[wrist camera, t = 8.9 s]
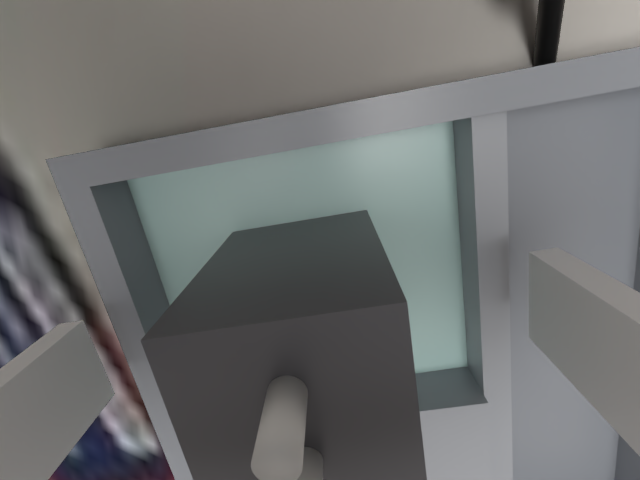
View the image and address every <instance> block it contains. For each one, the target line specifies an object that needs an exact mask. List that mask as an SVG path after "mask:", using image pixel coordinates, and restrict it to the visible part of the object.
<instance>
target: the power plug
mask: <svg viewBox="0 0 640 480" xmlns="http://www.w3.org/2000/svg"><path fill="white" fill-rule="evenodd" d="M564 3H565V0H539V4H538V15H537V26H536V37H535V48H534V59H533V65H534V66H540V65H546V64H551V63H555V62H556V58H557V51H558V44H559V37H560V30H561V23H562V16H563V9H564Z"/></svg>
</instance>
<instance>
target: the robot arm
mask: <svg viewBox="0 0 640 480" xmlns="http://www.w3.org/2000/svg"><path fill="white" fill-rule="evenodd" d="M529 338H530V339H531V340H532V341H533V342H534V343H535V344H536V345H537V347H538V348H539V349H540V350H541V351H542V352H543V353H544V354H545V355H546V356H547V357H548V358H549V359H550V361H551V362H552V363H553V364H554V365H555V366H556V367H557V368H558V369H559V370H560V371H561V372H562V373H563V375H564V376H565V377H566V378H567V379H568V380H569V381H570V382H571V383H572V384H573V385H574V386H575V387H576V389H577V390H578V391H579V392H580V393H581V394H582V395H583V396H584V397H585V398H586V399H587V400H588V401H589V403H590V404H591V405H592V406H593V407H594V408H595V409H596V410H597V411H598V412H599V413H600V414H601V415H602V417H603V418H604V419H605V420H606V421H607V422H608V423H609V424H610V425H611V426H612V427H613V428H614V429H615V431H616V432H617V433H618V434H619V435H620V436H621V437H622V438H623V439H624V440H625V441H626V442H627V443H628V445H629V446H630V447H631V448H632V449H633V450H634V451H635V452H636V453H637V454H638V455H639V456H640V293H639V292H638V291H636V290H634V289H632V288H630V287H629V286H627V285H625V284H623V283H621V282H619V281H618V280H616V279H614V278H612V277H610V276H609V275H607V274H605V273H603V272H601V271H600V270H598V269H596V268H594V267H592V266H590V265H589V264H587V263H585V262H583V261H581V260H580V259H578V258H576V257H574V256H572V255H571V254H569V253H567V252H565V251H563V250H561V249H560V248H551V249H544V250H538V251H531V252H529ZM114 394H115V393H114V391H113V388H112V386H111V384H110V381H109V379H108V377H107V374H106V372H105V370H104V367H103V365H102V363H101V361H100V358H99V356H98V354H97V351H96V349H95V347H94V344H93V342H92V340H91V337H90V335H89V333H88V330H87V328H86V326H85V323H84V321H83V320H82V321H75V322H69V323H62V324H59V325H57V326H56V327H55V328H53V329H52V330H51V331H50V332H48V333H47V334H46V335H44V336H43V337H42V338H40V339H39V340H38V341H36V342H35V343H34V344H32V345H31V346H30V347H28V348H27V349H26V350H24V351H23V352H22V353H21V354H19V355H18V356H17V357H15V358H14V359H13V360H11V361H10V362H9V363H7V364H6V365H5V366H3V367H2V368H1V369H0V480H48V479H49V478H50V477H51V475H52V474H53V473H54V471H55V470H56V469H57V468H58V466H59V465H60V464H61V462H62V461H63V460H64V459H65V457H66V456H67V455H68V453H69V452H70V451H71V450H72V448H73V447H74V446H75V444H76V443H77V442H78V441H79V439H80V438H81V437H82V435H83V434H84V433H85V432H86V430H87V429H88V428H89V426H90V425H91V424H92V423H93V421H94V420H95V419H96V417H97V416H98V415H99V414H100V412H101V411H102V410H103V408H104V407H105V406H106V405H107V403H108V402H109V401H110V399H111V398H112V397H113V396H114Z"/></svg>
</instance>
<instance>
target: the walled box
mask: <svg viewBox="0 0 640 480" xmlns="http://www.w3.org/2000/svg"><path fill="white" fill-rule="evenodd" d="M46 162H47V164H48V167H49V169H50V172H51V174H52V177H53V179H54V182H55V184H56V187H57V189H58V191H59V194H60V196H61V199H62V201H63V204H64V206H65V209H66V211H67V214H68V216H69V219H70V221H71V224H72V226H73V229H74V231H75V233H76V236H77V238H78V241H79V243H80V246H81V248H82V251H83V253H84V256H85V258H86V261H87V263H88V266H89V268H90V271H91V273H92V275H93V278H94V280H95V283H96V285H97V288H98V290H99V293H100V295H101V298H102V300H103V303H104V305H105V308H106V310H107V313H108V315H109V317H110V320H111V322H112V325H113V327H114V330H115V332H116V335H117V337H118V340H119V342H120V345H121V347H122V350H123V352H124V355H125V357H126V359H127V362H128V364H129V367H130V369H131V372H132V374H133V377H134V379H135V382H136V384H137V387H138V389H139V392H140V394H141V397H142V399H143V401H144V404H145V406H146V409H147V411H148V414H149V416H150V419H151V421H152V424H153V426H154V429H155V431H156V434H157V436H158V439H159V441H160V443H161V446H162V448H163V451H164V453H165V456H166V458H167V461H168V463H169V466H170V468H171V471H172V473H173V476H174V478H175V480H193V478H192V475H191V473H190V470H189V467H188V465H187V462H186V459H185V457H184V454H183V452H182V449H181V446H180V444H179V441H178V438H177V436H176V433H175V430H174V428H173V425H172V423H171V420H170V417H169V415H168V412H167V409H166V407H165V404H164V402H163V399H162V396H161V394H160V391H159V388H158V386H157V383H156V381H155V378H154V375H153V373H152V370H151V367H150V365H149V362H148V359H147V357H146V354H145V352H144V349H143V346H142V344H141V341H140V340H141V339H142V338H143V337H144V336H145V334H146V333H147V332H148V331H149V330H150V329H151V327H152V326H153V325H154V324H155V323H156V322H157V320H158V319H159V318H160V317H161V316H162V314H163V313H164V312H165V311H166V310H167V309H168V307H169V306H170V305H171V304H172V303H173V302H174V300H175V299H176V298H177V297H178V296H179V295H180V293H181V292H182V291H183V290H184V289H185V287H186V286H187V285H188V284H189V283H190V282H191V280H192V279H193V278H194V277H195V276H196V275H197V273H198V272H199V271H200V270H201V269H202V267H203V266H204V265H205V264H206V263H207V262H208V260H209V259H210V258H211V257H212V256H213V255H214V253H215V252H216V251H217V250H218V249H219V247H220V246H221V245H222V244H223V243H224V242H225V240H226V239H227V238H228V237H229V236H230V235H231V233H232V232H234V231H241V230H247V229H253V228H259V227H265V226H271V225H277V224H283V223H289V222H295V221H301V220H308V219H314V218H320V217H326V216H332V215H338V214H344V213H350V212H356V211H362V210H367V211H368V214H369V216H370V218H371V221H372V223H373V225H374V227H375V230H376V232H377V234H378V237H379V239H380V241H381V243H382V246H383V248H384V250H385V252H386V255H387V257H388V259H389V262H390V264H391V266H392V268H393V271H394V273H395V275H396V278H397V280H398V282H399V284H400V287H401V289H402V291H403V293H404V296H405V298H406V300H407V304H408V313H409V322H410V331H411V340H412V349H413V358H414V367H415V376H416V385H417V394H418V403H419V412H420V421H421V430H422V439H423V448H424V457H425V466H426V475H427V480H640V456H639V455H638V454H637V453H636V452H635V451H634V450H633V449H632V448H631V447H630V446H629V445H628V443H627V442H626V441H625V440H624V439H623V438H622V437H621V436H620V435H619V434H618V433H617V432H616V431H615V429H614V428H613V427H612V426H611V425H610V424H609V423H608V422H607V421H606V420H605V419H604V418H603V417H602V415H601V414H600V413H599V412H598V411H597V410H596V409H595V408H594V407H593V406H592V405H591V404H590V403H589V401H588V400H587V399H586V398H585V397H584V396H583V395H582V394H581V393H580V392H579V391H578V390H577V389H576V387H575V386H574V385H573V384H572V383H571V382H570V381H569V380H568V379H567V378H566V377H565V376H564V375H563V373H562V372H561V371H560V370H559V369H558V368H557V367H556V366H555V365H554V364H553V363H552V362H551V361H550V359H549V358H548V357H547V356H546V355H545V354H544V353H543V352H542V351H541V350H540V349H539V348H538V347H537V345H536V344H535V343H534V342H533V341H532V340H531V339H530V338H529V252H531V251H538V250H544V249H551V248H560V249H561V250H563V251H565V252H567V253H569V254H571V255H572V256H574V257H576V258H578V259H580V260H581V261H583V262H585V263H587V264H589V265H590V266H592V267H594V268H596V269H598V270H600V271H601V272H603V273H605V274H607V275H609V276H610V277H612V278H614V279H616V280H618V281H619V282H621V283H623V284H625V285H627V286H629V287H630V288H632V289H634V290H636V291H638V292H639V293H640V47H635V48H630V49H625V50H619V51H614V52H609V53H604V54H598V55H593V56H588V57H582V58H577V59H572V60H567V61H561V62H556V63H551V64H546V65H540V66H535V67H530V68H525V69H519V70H514V71H509V72H503V73H498V74H493V75H488V76H482V77H477V78H472V79H467V80H461V81H456V82H451V83H445V84H440V85H435V86H430V87H424V88H419V89H414V90H409V91H403V92H398V93H393V94H388V95H382V96H377V97H372V98H366V99H361V100H356V101H351V102H345V103H340V104H335V105H330V106H324V107H319V108H314V109H308V110H303V111H298V112H293V113H287V114H282V115H277V116H272V117H266V118H261V119H256V120H251V121H245V122H240V123H235V124H229V125H224V126H219V127H214V128H208V129H203V130H198V131H193V132H187V133H182V134H177V135H171V136H166V137H161V138H156V139H150V140H145V141H140V142H135V143H129V144H124V145H119V146H114V147H108V148H103V149H98V150H92V151H87V152H82V153H77V154H71V155H66V156H61V157H56V158H50V159H46Z"/></svg>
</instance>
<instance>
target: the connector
mask: <svg viewBox="0 0 640 480" xmlns="http://www.w3.org/2000/svg"><path fill="white" fill-rule="evenodd" d="M140 341H141V344H142V346H143V349H144V352H145V354H146V357H147V359H148V362H149V365H150V367H151V370H152V373H153V375H154V378H155V381H156V383H157V386H158V388H159V391H160V394H161V396H162V399H163V402H164V404H165V407H166V409H167V412H168V415H169V417H170V420H171V423H172V425H173V428H174V430H175V433H176V436H177V438H178V441H179V444H180V446H181V449H182V452H183V454H184V457H185V459H186V462H187V465H188V467H189V470H190V473H191V475H192V478H193V480H427V475H426V466H425V457H424V448H423V439H422V430H421V421H420V412H419V403H418V394H417V385H416V376H415V367H414V358H413V349H412V340H411V331H410V322H409V313H408V304H407V300H406V298H405V296H404V293H403V291H402V289H401V287H400V284H399V282H398V280H397V278H396V275H395V273H394V271H393V268H392V266H391V264H390V262H389V259H388V257H387V255H386V252H385V250H384V248H383V246H382V243H381V241H380V239H379V237H378V234H377V232H376V230H375V227H374V225H373V223H372V221H371V218H370V216H369V214H368V211H367V210H362V211H356V212H350V213H344V214H338V215H332V216H326V217H320V218H314V219H308V220H301V221H295V222H289V223H283V224H277V225H271V226H265V227H259V228H253V229H247V230H241V231H234V232H232V233H231V235H230V236H229V237H228V238H227V239H226V240H225V242H224V243H223V244H222V245H221V246H220V247H219V249H218V250H217V251H216V252H215V253H214V255H213V256H212V257H211V258H210V259H209V260H208V262H207V263H206V264H205V265H204V266H203V267H202V269H201V270H200V271H199V272H198V273H197V275H196V276H195V277H194V278H193V279H192V280H191V282H190V283H189V284H188V285H187V286H186V287H185V289H184V290H183V291H182V292H181V293H180V295H179V296H178V297H177V298H176V299H175V300H174V302H173V303H172V304H171V305H170V306H169V307H168V309H167V310H166V311H165V312H164V313H163V314H162V316H161V317H160V318H159V319H158V320H157V322H156V323H155V324H154V325H153V326H152V327H151V329H150V330H149V331H148V332H147V333H146V334H145V336H144V337H143V338H142V339H141V340H140Z"/></svg>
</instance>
